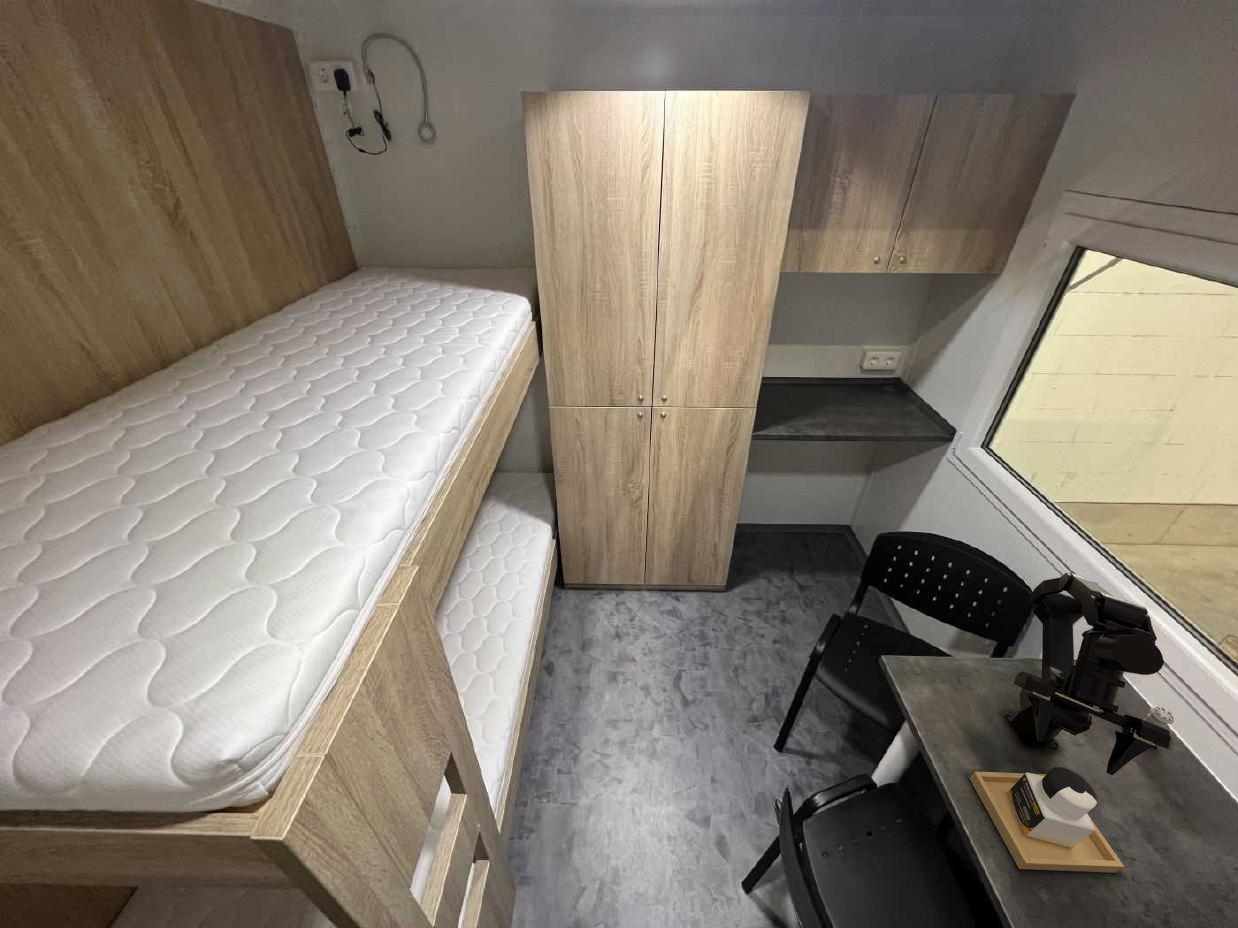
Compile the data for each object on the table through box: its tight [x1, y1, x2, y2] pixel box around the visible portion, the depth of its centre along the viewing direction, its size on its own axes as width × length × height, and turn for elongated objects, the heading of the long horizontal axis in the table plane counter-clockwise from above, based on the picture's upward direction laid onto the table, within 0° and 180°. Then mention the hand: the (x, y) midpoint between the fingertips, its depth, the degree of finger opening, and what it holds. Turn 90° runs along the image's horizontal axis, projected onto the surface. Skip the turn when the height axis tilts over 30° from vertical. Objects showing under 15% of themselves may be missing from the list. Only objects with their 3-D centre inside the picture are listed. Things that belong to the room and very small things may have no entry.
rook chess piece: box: [1142, 706, 1175, 746], centre depth 95 cm, size 4×4×8 cm
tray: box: [969, 771, 1125, 874], centre depth 83 cm, size 16×14×2 cm
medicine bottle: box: [1008, 766, 1098, 848], centre depth 80 cm, size 7×7×12 cm
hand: (1073, 757), depth 80 cm, fingers open, 9 cm apart
